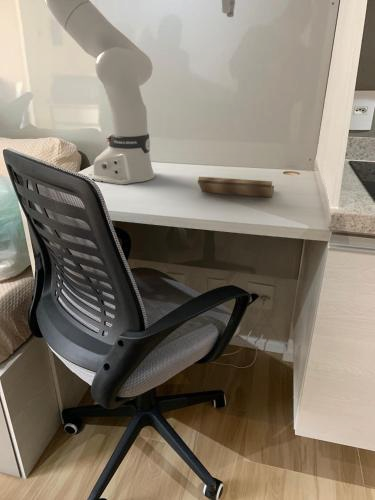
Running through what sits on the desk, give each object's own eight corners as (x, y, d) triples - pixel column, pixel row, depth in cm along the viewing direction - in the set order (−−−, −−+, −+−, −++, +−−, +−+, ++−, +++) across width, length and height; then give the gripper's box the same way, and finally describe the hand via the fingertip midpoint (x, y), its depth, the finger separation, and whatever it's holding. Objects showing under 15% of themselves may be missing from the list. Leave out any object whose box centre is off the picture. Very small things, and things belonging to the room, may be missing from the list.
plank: (197, 181, 109) (198, 176, 109) (202, 192, 115) (203, 187, 116) (271, 186, 104) (272, 181, 104) (271, 197, 110) (272, 192, 111)
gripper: (222, -39, 109) (221, 19, 115) (211, -59, 91) (210, 11, 97) (245, -40, 108) (243, 18, 114) (238, -61, 90) (236, 10, 96)
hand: (228, 15), depth 105 cm, fingers open, 8 cm apart
